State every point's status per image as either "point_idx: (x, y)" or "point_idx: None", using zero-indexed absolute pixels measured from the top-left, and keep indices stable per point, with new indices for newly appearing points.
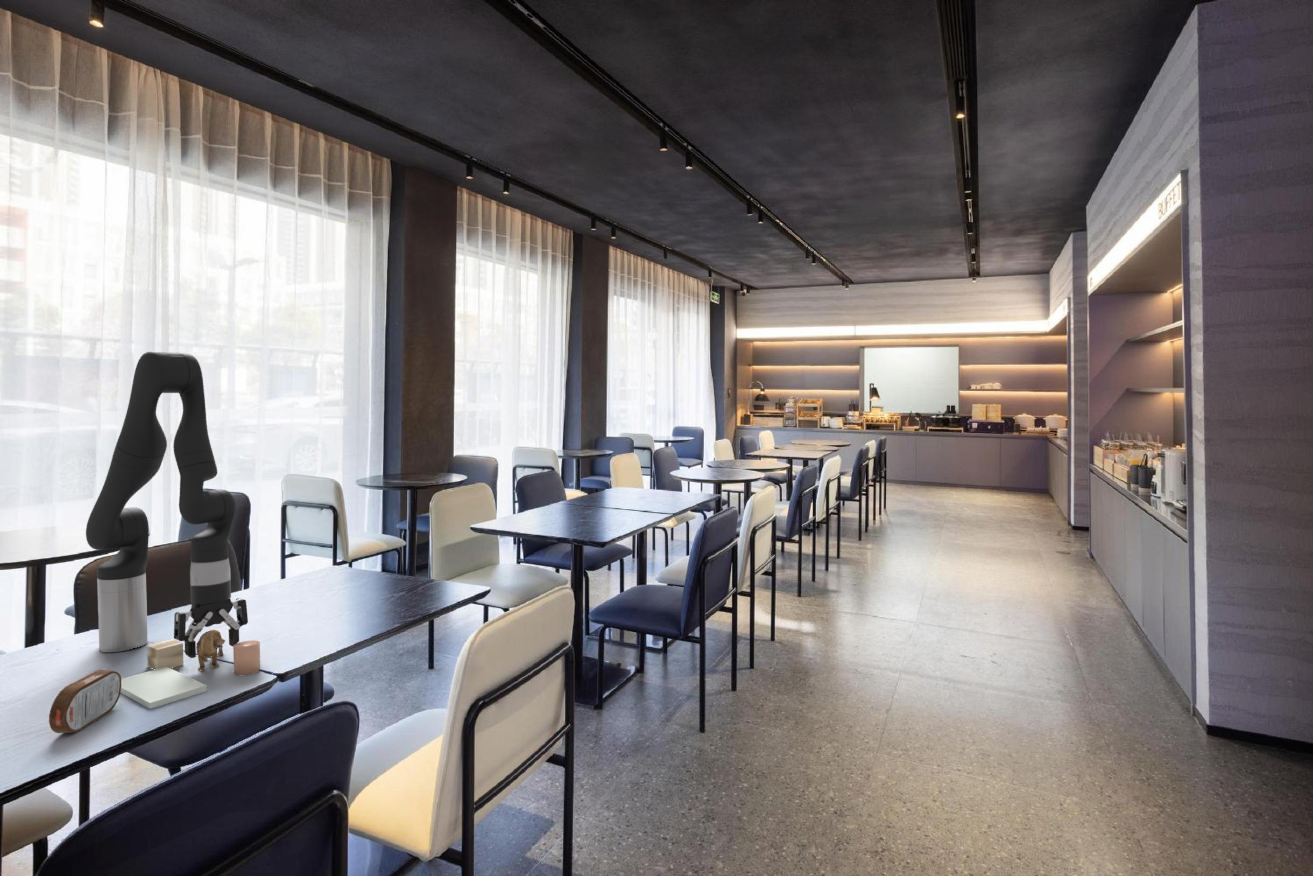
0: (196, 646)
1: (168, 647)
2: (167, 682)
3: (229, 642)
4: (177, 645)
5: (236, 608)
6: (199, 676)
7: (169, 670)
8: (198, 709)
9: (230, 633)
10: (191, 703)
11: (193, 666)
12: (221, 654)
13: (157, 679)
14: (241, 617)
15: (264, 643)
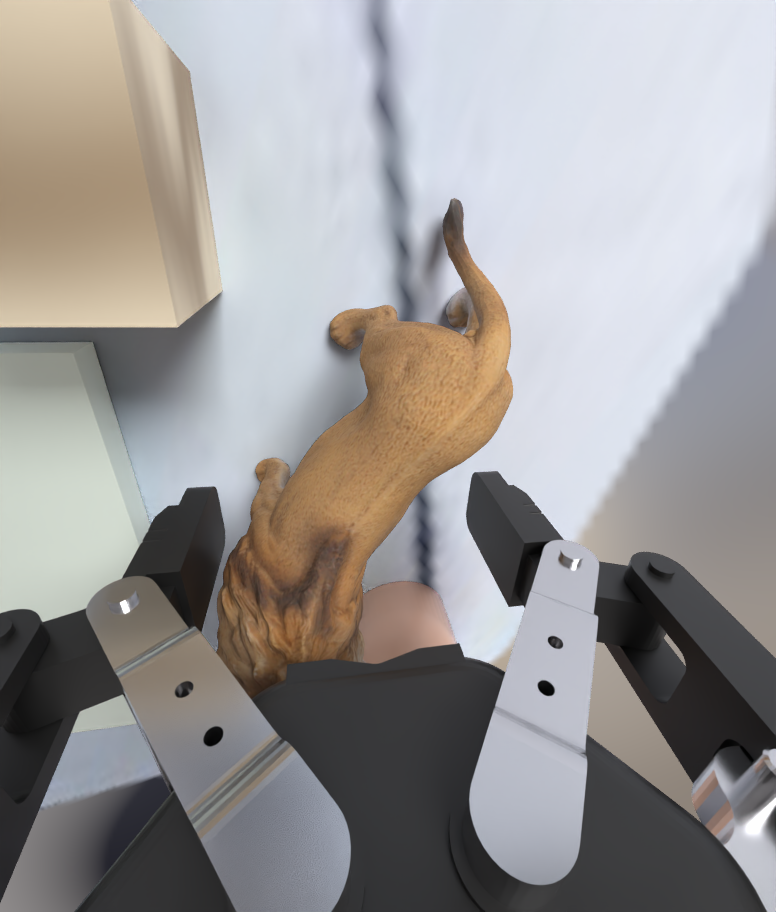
0: (223, 579)
1: (20, 324)
2: (53, 611)
3: (478, 485)
4: (122, 323)
5: (700, 805)
6: (233, 547)
7: (85, 451)
8: (140, 779)
9: (504, 547)
10: (131, 741)
11: (261, 380)
12: (460, 326)
13: (2, 542)
14: (640, 687)
15: (706, 324)
